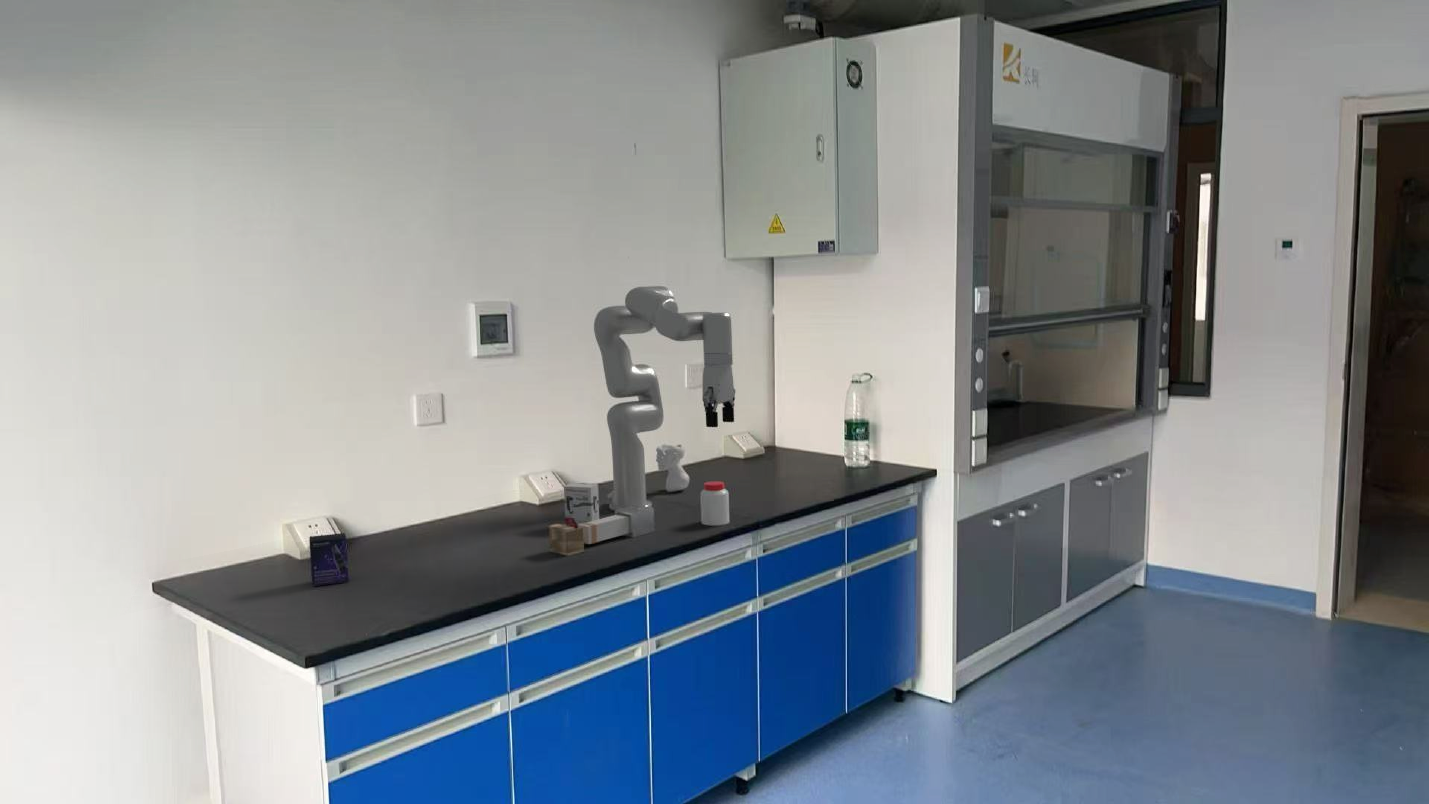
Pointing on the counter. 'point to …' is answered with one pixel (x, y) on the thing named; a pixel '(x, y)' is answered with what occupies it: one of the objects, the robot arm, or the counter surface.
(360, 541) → the counter surface
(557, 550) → the crate
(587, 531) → the light grey bar
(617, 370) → the robot arm
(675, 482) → the white bust sculpture
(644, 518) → the sleeve
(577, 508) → the ink box
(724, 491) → the pill bottle
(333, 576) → the box
